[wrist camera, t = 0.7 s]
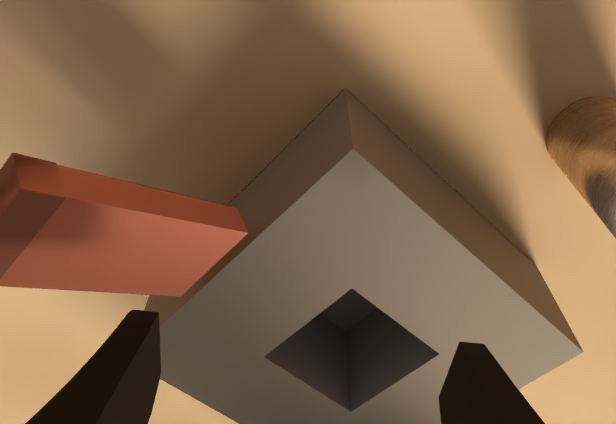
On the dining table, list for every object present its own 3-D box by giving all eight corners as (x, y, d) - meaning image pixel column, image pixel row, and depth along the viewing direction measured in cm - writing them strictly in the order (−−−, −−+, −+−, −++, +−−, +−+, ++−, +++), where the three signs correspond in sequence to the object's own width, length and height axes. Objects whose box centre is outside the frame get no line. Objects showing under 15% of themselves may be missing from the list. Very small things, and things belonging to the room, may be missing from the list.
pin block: (537, 266, 24) (583, 351, 20) (345, 395, 29) (350, 486, 25) (345, 88, 20) (352, 148, 16) (157, 274, 25) (125, 359, 21)
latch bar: (236, 207, 18) (248, 234, 17) (171, 270, 19) (181, 297, 18) (12, 152, 12) (20, 189, 12) (-55, 247, 14) (-51, 285, 13)
